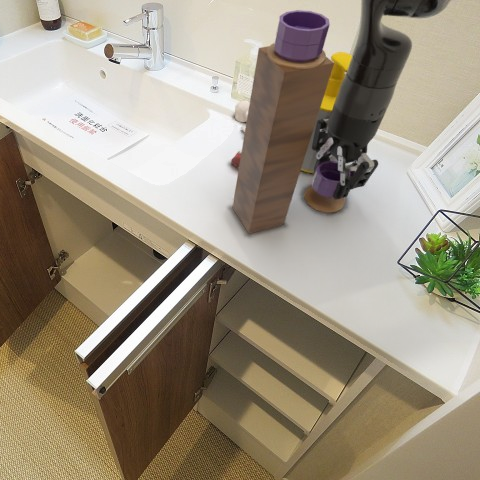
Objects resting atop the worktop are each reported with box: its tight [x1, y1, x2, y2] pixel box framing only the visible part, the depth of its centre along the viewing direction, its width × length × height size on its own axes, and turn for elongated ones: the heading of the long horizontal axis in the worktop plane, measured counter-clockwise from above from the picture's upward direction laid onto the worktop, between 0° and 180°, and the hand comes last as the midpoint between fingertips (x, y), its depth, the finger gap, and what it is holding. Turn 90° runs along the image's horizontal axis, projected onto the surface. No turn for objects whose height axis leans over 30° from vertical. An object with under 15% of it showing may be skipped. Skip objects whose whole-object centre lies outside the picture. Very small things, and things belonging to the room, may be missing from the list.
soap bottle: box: [301, 51, 353, 174], centre depth 79 cm, size 13×13×21 cm
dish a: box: [273, 9, 331, 62], centre depth 52 cm, size 6×6×4 cm
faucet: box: [234, 99, 250, 123], centre depth 91 cm, size 4×18×10 cm, turn 24°
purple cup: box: [311, 161, 350, 198], centre depth 75 cm, size 6×6×4 cm
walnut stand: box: [232, 45, 334, 235], centre depth 65 cm, size 7×7×30 cm
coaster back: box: [303, 185, 345, 214], centre depth 79 cm, size 7×7×1 cm
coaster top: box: [267, 42, 327, 69], centre depth 53 cm, size 7×7×1 cm
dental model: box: [230, 150, 242, 168], centre depth 84 cm, size 6×4×8 cm
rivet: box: [240, 125, 246, 133], centre depth 90 cm, size 10×2×2 cm, turn 24°
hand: (328, 185), depth 76 cm, fingers closed on purple cup, 6 cm apart
